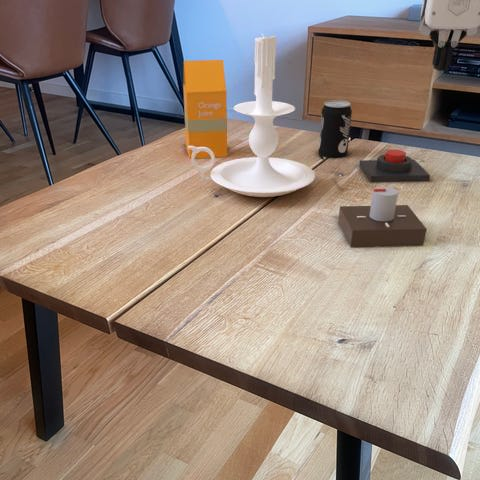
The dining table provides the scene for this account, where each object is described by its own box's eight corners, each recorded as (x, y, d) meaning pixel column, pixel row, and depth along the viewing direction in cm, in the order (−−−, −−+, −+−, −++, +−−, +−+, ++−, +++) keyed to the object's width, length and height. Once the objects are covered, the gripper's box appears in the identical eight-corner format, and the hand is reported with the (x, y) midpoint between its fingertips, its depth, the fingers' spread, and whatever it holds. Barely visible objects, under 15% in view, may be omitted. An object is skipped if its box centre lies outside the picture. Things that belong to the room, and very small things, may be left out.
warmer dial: (390, 211, 94) (394, 184, 91) (396, 221, 91) (401, 193, 88) (366, 212, 94) (370, 184, 91) (372, 221, 90) (376, 193, 88)
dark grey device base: (412, 169, 121) (415, 151, 119) (427, 185, 113) (431, 166, 111) (358, 170, 121) (360, 152, 118) (369, 186, 112) (372, 167, 110)
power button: (401, 157, 116) (402, 149, 115) (407, 163, 113) (408, 155, 112) (382, 157, 116) (383, 149, 115) (387, 164, 113) (389, 155, 112)
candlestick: (192, 172, 119) (185, 26, 104) (306, 171, 120) (317, 25, 104) (187, 209, 102) (178, 41, 87) (320, 208, 103) (335, 41, 87)
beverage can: (330, 163, 124) (336, 108, 117) (312, 156, 129) (316, 102, 122) (352, 158, 127) (359, 104, 120) (333, 151, 132) (338, 98, 125)
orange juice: (186, 148, 133) (181, 57, 122) (222, 146, 134) (221, 56, 123) (189, 159, 127) (185, 64, 116) (227, 156, 128) (226, 62, 117)
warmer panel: (404, 220, 98) (407, 203, 97) (423, 245, 90) (427, 227, 88) (338, 222, 98) (339, 205, 96) (350, 247, 89) (352, 229, 88)
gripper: (426, -46, 92) (407, 73, 102) (514, -46, 92) (487, 73, 103) (412, -47, 98) (395, 66, 108) (495, -47, 98) (470, 65, 109)
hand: (440, 69), depth 105 cm, fingers closed
